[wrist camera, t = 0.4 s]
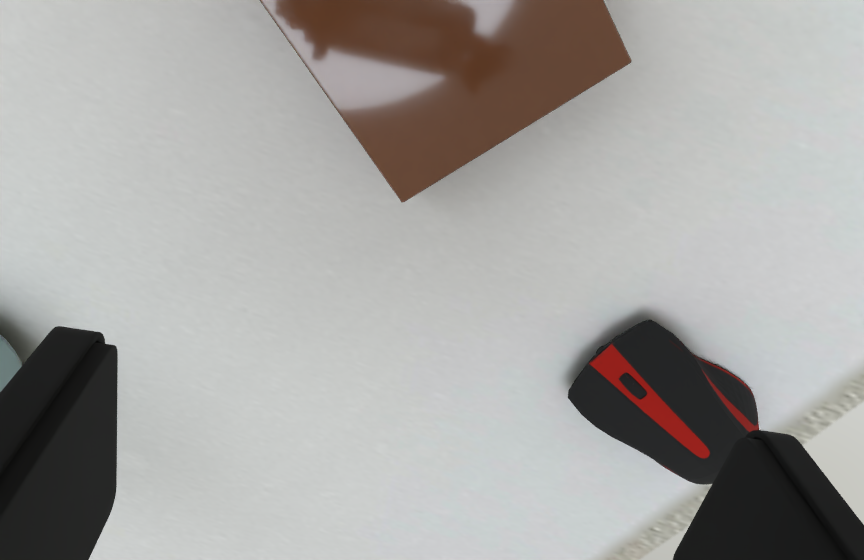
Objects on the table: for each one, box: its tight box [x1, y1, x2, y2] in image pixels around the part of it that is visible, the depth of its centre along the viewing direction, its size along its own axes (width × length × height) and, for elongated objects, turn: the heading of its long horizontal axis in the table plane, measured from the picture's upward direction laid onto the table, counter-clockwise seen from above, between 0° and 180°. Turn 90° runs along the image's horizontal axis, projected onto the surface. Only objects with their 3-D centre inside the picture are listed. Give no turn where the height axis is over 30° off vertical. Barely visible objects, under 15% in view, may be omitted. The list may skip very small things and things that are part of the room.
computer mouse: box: [568, 320, 759, 484], centre depth 33 cm, size 6×11×4 cm, turn 49°
